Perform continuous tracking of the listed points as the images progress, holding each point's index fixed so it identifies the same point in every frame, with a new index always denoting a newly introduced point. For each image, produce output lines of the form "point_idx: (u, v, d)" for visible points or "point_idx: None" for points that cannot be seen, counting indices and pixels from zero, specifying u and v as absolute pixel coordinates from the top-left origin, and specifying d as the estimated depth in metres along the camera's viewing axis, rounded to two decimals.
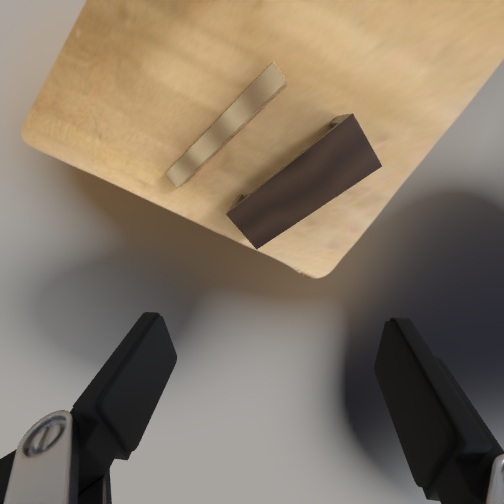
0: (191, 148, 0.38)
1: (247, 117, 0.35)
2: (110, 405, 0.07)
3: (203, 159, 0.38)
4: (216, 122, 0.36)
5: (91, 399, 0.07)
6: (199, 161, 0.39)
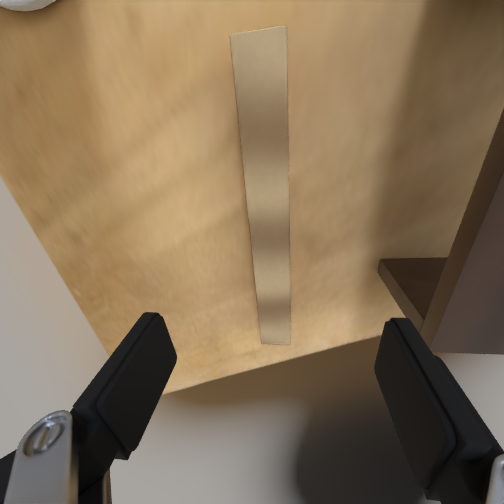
0: (258, 290, 0.20)
1: (285, 169, 0.15)
2: (110, 405, 0.07)
3: (286, 288, 0.20)
4: (252, 229, 0.17)
5: (91, 399, 0.07)
6: (284, 293, 0.20)
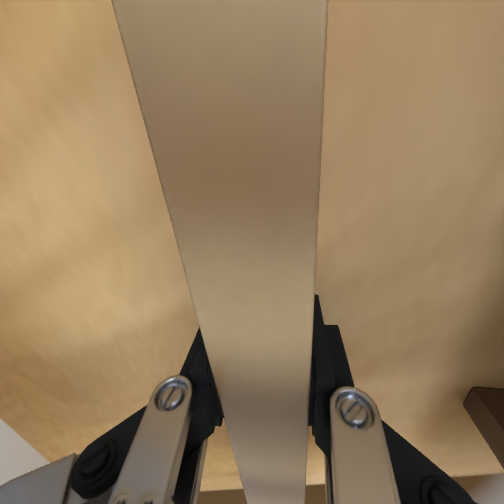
0: (241, 467, 0.10)
1: (306, 280, 0.05)
2: None
3: (298, 471, 0.10)
4: (221, 387, 0.07)
5: (204, 365, 0.07)
6: (294, 477, 0.10)
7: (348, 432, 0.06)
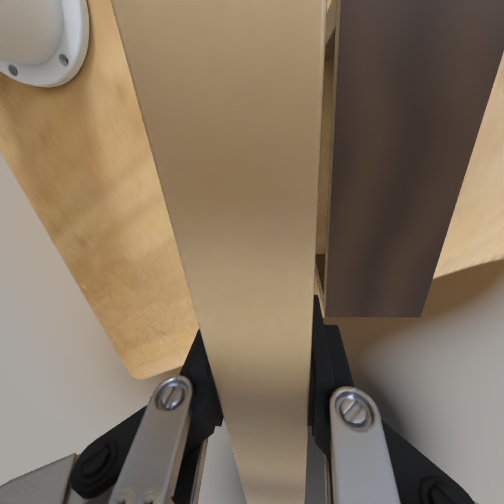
0: (241, 467, 0.10)
1: (305, 281, 0.05)
2: None
3: (298, 471, 0.10)
4: (220, 387, 0.07)
5: (204, 365, 0.07)
6: (294, 477, 0.10)
7: (348, 432, 0.06)
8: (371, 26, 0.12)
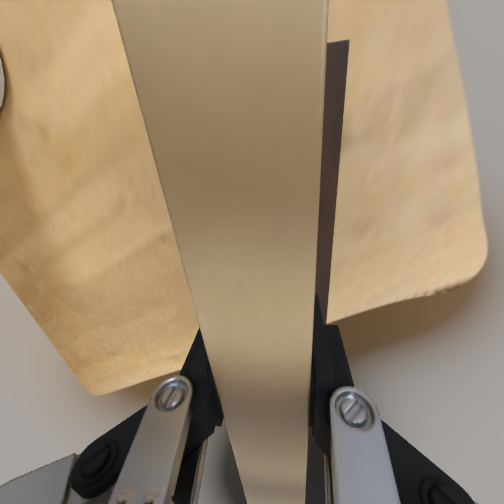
0: (242, 468, 0.10)
1: (306, 282, 0.05)
2: None
3: (298, 472, 0.10)
4: (221, 388, 0.07)
5: (204, 365, 0.07)
6: (295, 478, 0.10)
7: (348, 432, 0.06)
8: None
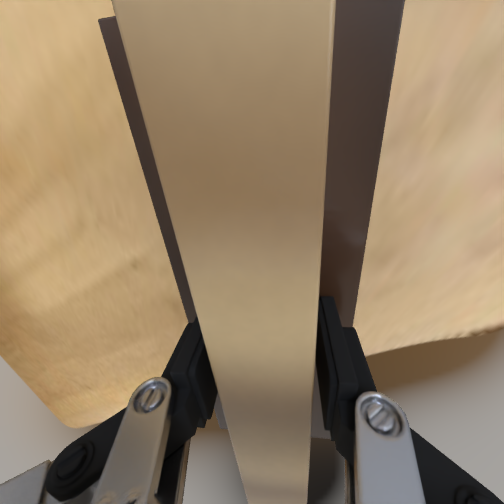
0: (243, 471, 0.10)
1: (310, 285, 0.05)
2: (198, 373, 0.08)
3: (300, 475, 0.10)
4: (223, 391, 0.07)
5: (184, 367, 0.07)
6: (297, 480, 0.10)
7: (373, 437, 0.05)
8: None
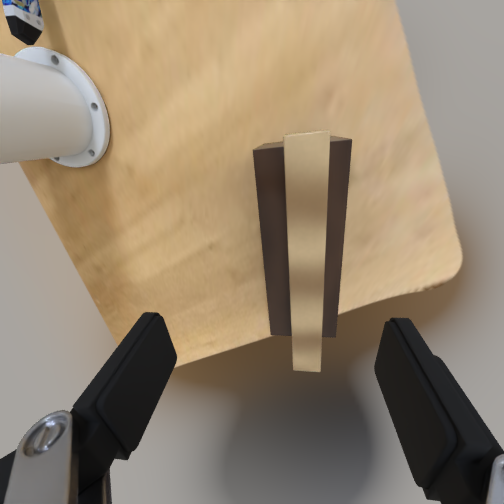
0: (293, 325, 0.23)
1: (323, 231, 0.18)
2: (110, 405, 0.07)
3: (319, 324, 0.22)
4: (291, 276, 0.20)
5: (91, 399, 0.07)
6: (317, 328, 0.23)
7: None
8: (272, 174, 0.20)
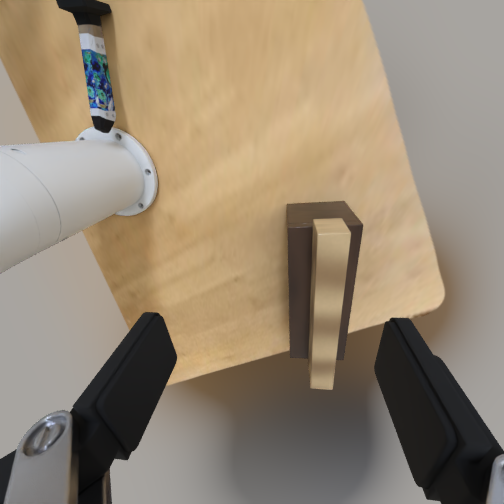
0: (313, 355, 0.29)
1: (342, 293, 0.24)
2: (110, 405, 0.07)
3: (334, 355, 0.29)
4: (315, 322, 0.27)
5: (91, 399, 0.07)
6: (332, 358, 0.29)
7: None
8: (301, 244, 0.27)
